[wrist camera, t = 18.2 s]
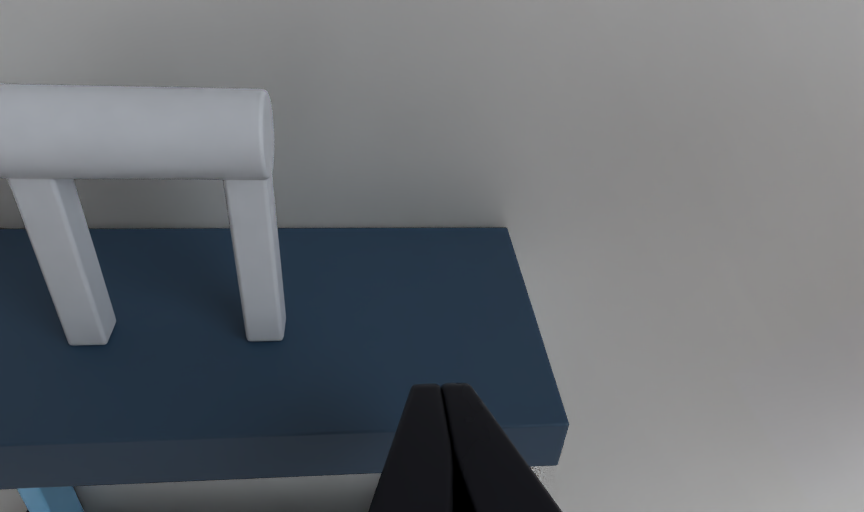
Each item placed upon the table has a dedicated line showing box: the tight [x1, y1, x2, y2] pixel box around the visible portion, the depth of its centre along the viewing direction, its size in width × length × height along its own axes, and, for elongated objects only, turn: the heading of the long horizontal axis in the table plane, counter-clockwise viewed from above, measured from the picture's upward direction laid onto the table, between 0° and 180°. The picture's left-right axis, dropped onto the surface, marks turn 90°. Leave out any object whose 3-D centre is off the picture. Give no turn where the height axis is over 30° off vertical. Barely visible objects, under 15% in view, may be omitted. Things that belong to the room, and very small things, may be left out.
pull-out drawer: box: [0, 84, 569, 512], centre depth 16 cm, size 19×14×6 cm
